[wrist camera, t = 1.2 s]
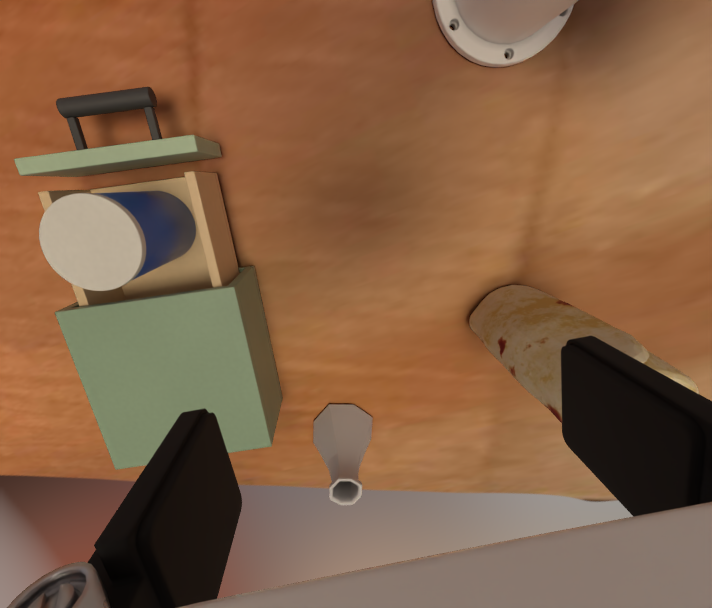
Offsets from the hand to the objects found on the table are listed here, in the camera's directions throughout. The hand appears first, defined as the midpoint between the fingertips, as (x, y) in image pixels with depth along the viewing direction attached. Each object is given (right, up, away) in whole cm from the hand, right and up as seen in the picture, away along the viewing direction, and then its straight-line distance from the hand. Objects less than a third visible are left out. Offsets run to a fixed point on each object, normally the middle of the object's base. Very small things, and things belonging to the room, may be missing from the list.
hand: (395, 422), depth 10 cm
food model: (+16, +3, +33) cm, 36 cm away
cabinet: (-18, -1, +32) cm, 36 cm away
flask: (-3, -12, +36) cm, 38 cm away
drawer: (-20, +12, +27) cm, 35 cm away
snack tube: (-19, +10, +26) cm, 34 cm away
